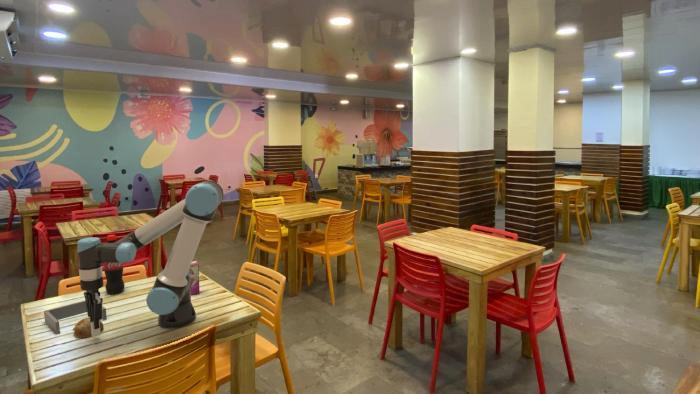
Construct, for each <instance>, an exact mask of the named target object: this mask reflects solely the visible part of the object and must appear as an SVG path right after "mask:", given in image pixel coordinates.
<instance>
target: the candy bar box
mask: <svg viewBox="0 0 700 394" xmlns="http://www.w3.org/2000/svg"><path fill="white" fill-rule="evenodd" d="M199 266H200V265H199V262H198V261H197V260H196V261H193V260H192V262H191V265H190V267H189V273H190V292H191V296H195V295H199V294H200V267H199Z"/></svg>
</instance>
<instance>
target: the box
mask: <svg viewBox="0 0 700 394" xmlns="http://www.w3.org/2000/svg"><path fill="white" fill-rule="evenodd" d="M83 313H87V307H86V301H85V300H81V301H77V302H73V303H70V304H66V305H62V306H58V307H55V308H50V309H47V310H43V314H44V315H43V316H44V323H45V324H46V325H47V326H48V327H49V328H50V329H51V330H52V331H53V332H54V334H56V335H59V334H61V329H60V321H59V320H61V319H64V318H68V317H72V316H75V315H79V314H83ZM107 319H108V318H107V308H106V307H104V305H102V320H103V321H106V320H107Z"/></svg>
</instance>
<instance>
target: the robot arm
mask: <svg viewBox="0 0 700 394" xmlns="http://www.w3.org/2000/svg"><path fill="white" fill-rule="evenodd" d="M224 194H225V193H224V189H223V188H222V186H221V185H220V184H219V183H218V182H216V181H213V180H204V181H202V182H199V183H197V184H194V185H192V186H191V187H190V188H189V189H188V191H187V192H186V194H185V198H184V199H182V200H180V201H179V202H178V203H175V204H174V205H173V206H171V207H170V208H168V209H167V210H165V211H163V212H162V213H160V214H159V215H157V216H155V217H154V218H152V219H151V220H149V221H147V222H146V223H145V224H143V225H141V226H140V227H138V228H137V229H134V230H133V231H132V232H130V233H128V234H126V235H125V236H124V237H122V238H120V239H119V240H118V241H117V240H116V242H115V243H108V242H101V239H100V237H96V236H95V237H93V236H92V237H91V236H90V237H89V236H88V237H84V238H80V239H78V241H77V247H76V248H77V252H76V253H77V258H78V273H79V274H78V275H79V279H80V281H79V283H80V289H81V290H82V291H84V292H83V296H84V299H85V300H84V301H86V307H87V312H86V313H87V318H89V317H90V322H91V334H92V336H91V337H92V338H96V337H99V336H101V332H102V331H101V332H100V321H101V320H103V319H102V306H103V301H104V299H103V298H102V297H101V291H100V290H99V289H101V288H103V287H104V277H103V271H104V266H103V264H104V263H123V264H125V263H131V262H133V261H134V260H135V259H136V256H137V252H138V251H139V250H140V249H143V247H145V246H147V245H148V244H150V243H151V242H153V241H155V240H156V239H158V238H159V237H161V236H163V235H164V234H166V233H167V232H169V231H171V230H172V229H174V228H175V227H177V226H179V225H180V224H181V225H180V227H179V230H178V233H177V235H176V238H175V240H174V243H173V245H172V249H171V251H170V254H169V256H168V259H167V261H166V263H165V267H164V269H162V270H161V271H160V273H158V274H157V276H156V277H155V278H156V279H155V280H154V281H155V282H154V284H153V286H152V288H151V290H150V291H149V292H148V293H147V296H146V298H145V299H146V305H147V307H148V309H149V310H150V312H152V313H153V314H156V315H158V318H157V323H158V326H159V327H161V328H165V329H176V328H182V327H185V326H188V325H191V324H192V323H194V322H195V321H196V319H197V314H196V310H195V307H194V305H193V304H192V303H193V302H192V299H191V298H192V295H191V292H190V273H189V267H190V265H191V262H193V260H194V257H195V255H196V252H197V249H198V247H199V244H200V242H201V239H202V237H203V234H204V232H205V229H206V227H207V224H208V223H211V222H212V221H213V219H214V217H215V214H216V212H217V209H218V207H219V206H220V204H221V203H222V202H223V201H224V200H223V199H224V196H225V195H224Z"/></svg>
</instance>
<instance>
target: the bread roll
mask: <svg viewBox="0 0 700 394" xmlns="http://www.w3.org/2000/svg"><path fill="white" fill-rule="evenodd" d="M103 330H104V323H103V322H102V321H101V320H100V332H102V331H103ZM72 331H73V335H74V336H75V337H76V338H82V339H83V338H90V337H92V334H91V322H90V317H85V318H83V319H80V320H79V321H78V322H77V323H76V324H75V325H74V326H73V328H72Z"/></svg>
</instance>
